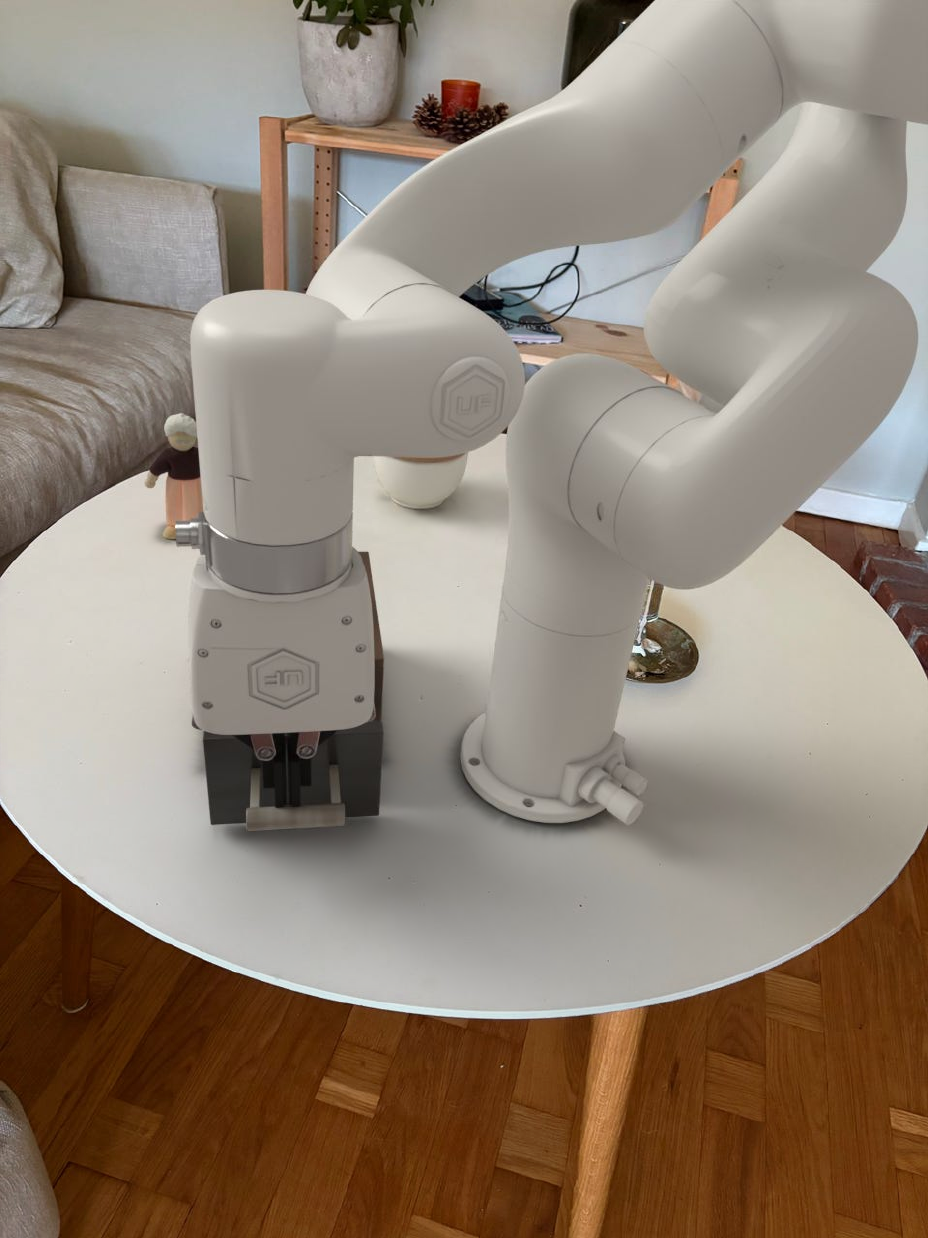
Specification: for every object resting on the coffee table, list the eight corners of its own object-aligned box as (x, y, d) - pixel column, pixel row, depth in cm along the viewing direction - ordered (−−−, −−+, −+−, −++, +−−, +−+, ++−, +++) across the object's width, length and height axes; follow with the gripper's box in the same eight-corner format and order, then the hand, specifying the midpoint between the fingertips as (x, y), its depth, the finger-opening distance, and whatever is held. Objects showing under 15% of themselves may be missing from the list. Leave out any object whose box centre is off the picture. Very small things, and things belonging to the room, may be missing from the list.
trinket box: (360, 477, 110) (362, 400, 105) (449, 472, 114) (455, 397, 108) (381, 523, 102) (385, 442, 97) (476, 516, 105) (485, 437, 100)
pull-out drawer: (385, 871, 63) (390, 786, 58) (205, 883, 61) (197, 795, 56) (365, 692, 77) (368, 613, 73) (220, 697, 75) (214, 616, 71)
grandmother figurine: (159, 547, 94) (146, 427, 87) (147, 529, 97) (134, 411, 90) (234, 532, 98) (227, 416, 91) (221, 515, 101) (213, 401, 93)
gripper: (121, 582, 46) (159, 845, 56) (431, 577, 48) (411, 828, 59) (138, 506, 52) (169, 756, 62) (413, 505, 54) (398, 745, 65)
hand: (287, 791), depth 60 cm, fingers closed
